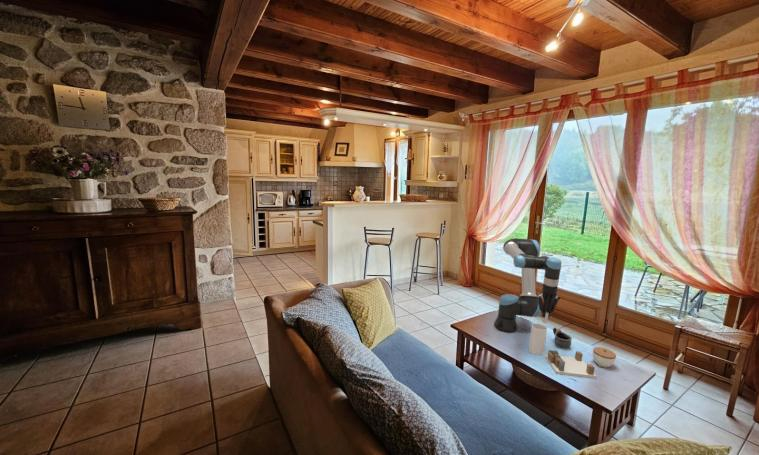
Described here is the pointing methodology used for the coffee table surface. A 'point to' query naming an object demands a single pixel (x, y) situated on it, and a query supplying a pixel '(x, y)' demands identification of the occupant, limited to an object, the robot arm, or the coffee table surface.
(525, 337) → the coffee table surface
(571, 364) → the seat board
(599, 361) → the lidded jar
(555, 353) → the brown rectangular block
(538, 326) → the cup
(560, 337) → the teapot
